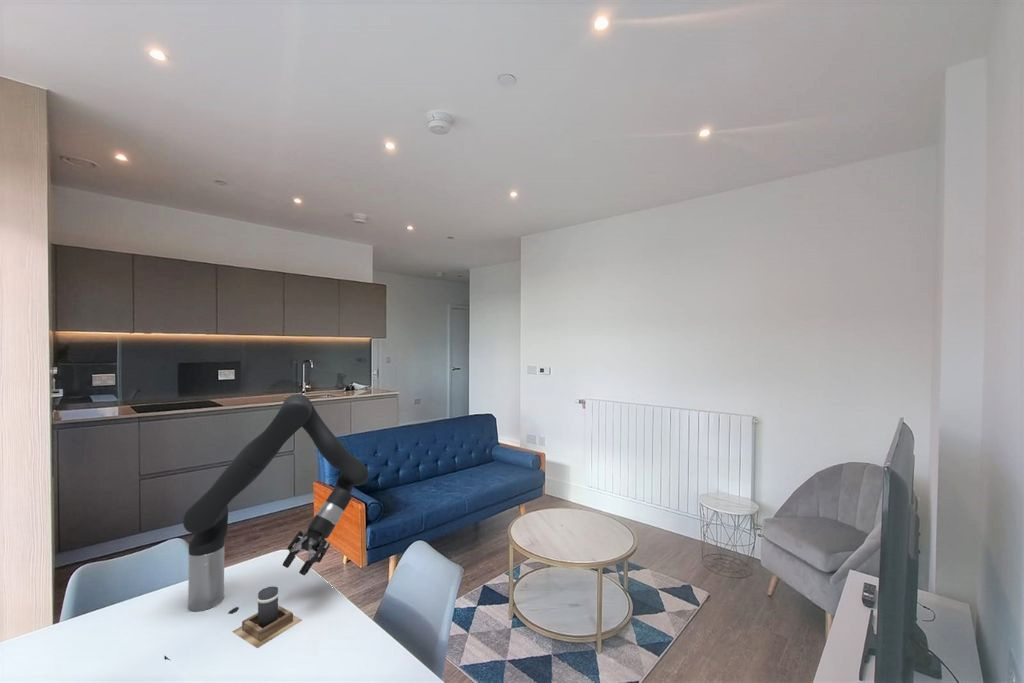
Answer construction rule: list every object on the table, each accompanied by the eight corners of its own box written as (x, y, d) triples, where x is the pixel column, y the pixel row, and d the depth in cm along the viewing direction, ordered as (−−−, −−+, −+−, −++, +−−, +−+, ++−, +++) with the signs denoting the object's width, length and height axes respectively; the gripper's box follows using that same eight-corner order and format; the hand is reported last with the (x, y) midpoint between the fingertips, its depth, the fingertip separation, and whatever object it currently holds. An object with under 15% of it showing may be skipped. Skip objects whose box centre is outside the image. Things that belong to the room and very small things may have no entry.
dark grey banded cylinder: (253, 628, 118) (253, 593, 118) (271, 617, 123) (272, 584, 123) (263, 634, 116) (264, 599, 116) (282, 623, 120) (282, 589, 120)
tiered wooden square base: (231, 633, 117) (232, 622, 117) (276, 608, 128) (277, 598, 128) (257, 650, 110) (257, 638, 111) (302, 622, 122) (302, 611, 122)
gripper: (305, 510, 137) (271, 559, 127) (333, 519, 130) (299, 572, 120) (319, 520, 142) (287, 568, 132) (347, 529, 135) (315, 581, 125)
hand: (293, 570), depth 126 cm, fingers open, 8 cm apart
